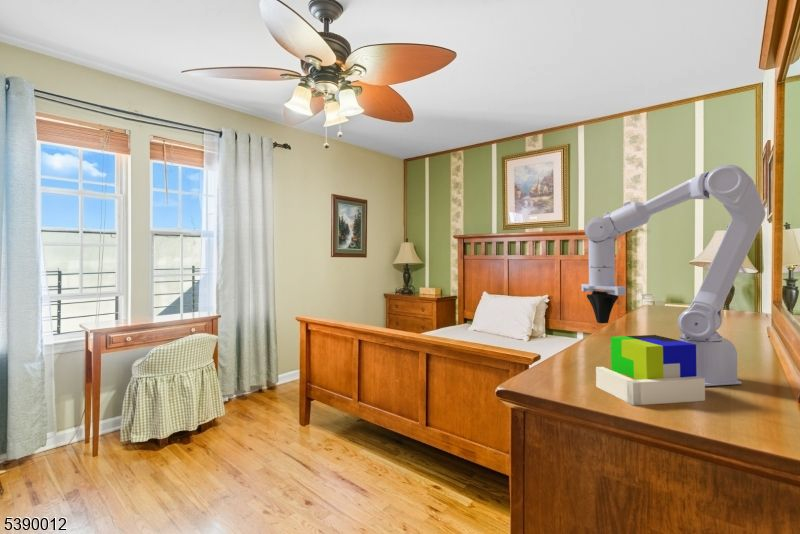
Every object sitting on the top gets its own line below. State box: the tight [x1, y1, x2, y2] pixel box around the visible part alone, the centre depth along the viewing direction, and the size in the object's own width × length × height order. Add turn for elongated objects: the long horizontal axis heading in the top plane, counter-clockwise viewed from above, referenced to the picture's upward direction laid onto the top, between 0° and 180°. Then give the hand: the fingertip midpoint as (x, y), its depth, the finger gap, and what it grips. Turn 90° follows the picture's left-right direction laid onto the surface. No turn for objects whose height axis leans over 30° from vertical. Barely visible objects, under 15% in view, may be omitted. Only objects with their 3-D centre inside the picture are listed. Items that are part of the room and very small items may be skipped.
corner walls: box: [595, 366, 706, 406], centre depth 76 cm, size 14×11×4 cm
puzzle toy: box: [610, 334, 697, 380], centre depth 77 cm, size 10×10×10 cm
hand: (602, 322), depth 96 cm, fingers closed
